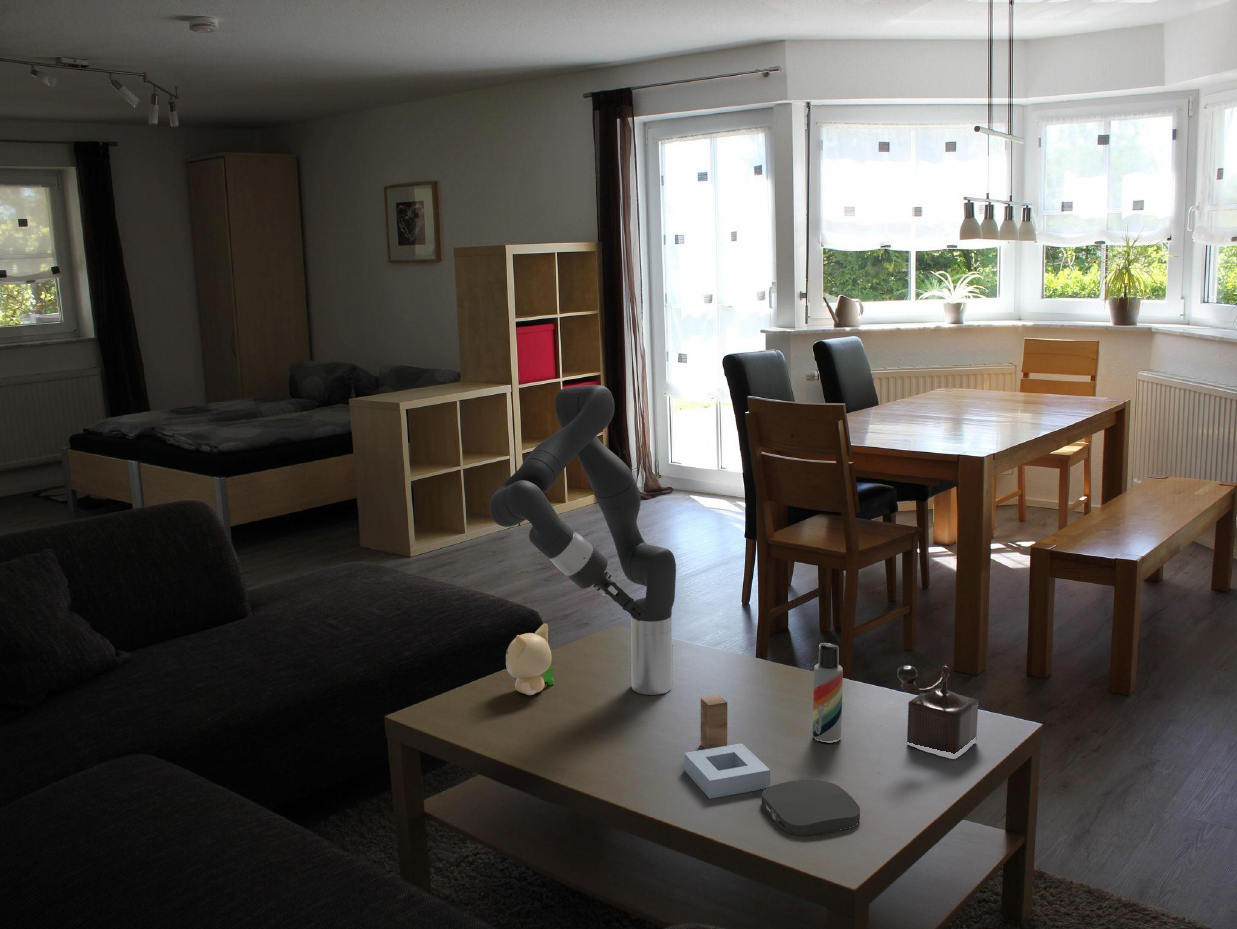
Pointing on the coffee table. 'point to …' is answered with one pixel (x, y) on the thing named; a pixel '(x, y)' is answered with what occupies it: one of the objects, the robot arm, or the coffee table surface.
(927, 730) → the manual coffee grinder
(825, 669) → the lotion bottle
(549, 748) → the coffee table surface
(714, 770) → the socket
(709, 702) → the peg
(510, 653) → the kitten
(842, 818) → the media streaming box
